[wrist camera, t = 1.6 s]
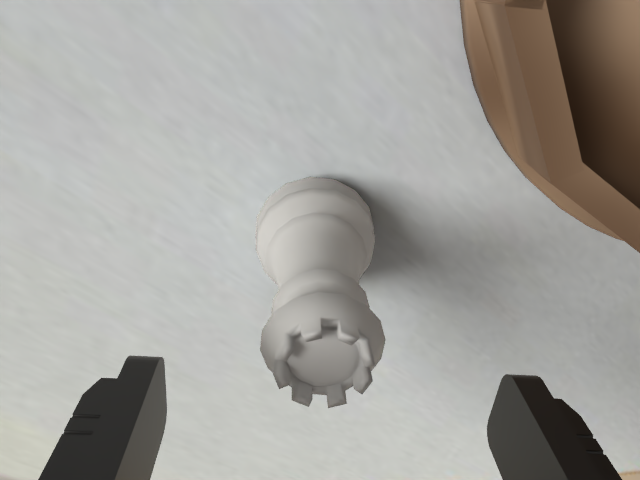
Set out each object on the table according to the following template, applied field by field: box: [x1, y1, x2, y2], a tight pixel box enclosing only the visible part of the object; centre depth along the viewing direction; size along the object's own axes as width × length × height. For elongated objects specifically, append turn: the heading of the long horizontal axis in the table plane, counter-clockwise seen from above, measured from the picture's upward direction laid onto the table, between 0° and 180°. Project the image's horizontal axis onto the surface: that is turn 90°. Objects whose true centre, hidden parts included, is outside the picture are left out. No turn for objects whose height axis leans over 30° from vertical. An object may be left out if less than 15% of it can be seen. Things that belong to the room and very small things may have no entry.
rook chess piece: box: [255, 177, 385, 408], centre depth 16 cm, size 4×4×8 cm
